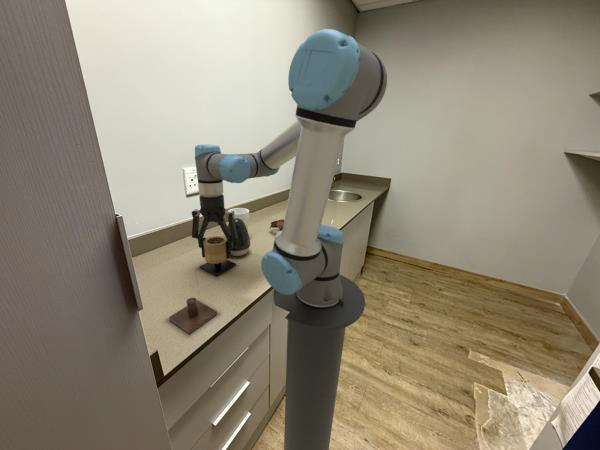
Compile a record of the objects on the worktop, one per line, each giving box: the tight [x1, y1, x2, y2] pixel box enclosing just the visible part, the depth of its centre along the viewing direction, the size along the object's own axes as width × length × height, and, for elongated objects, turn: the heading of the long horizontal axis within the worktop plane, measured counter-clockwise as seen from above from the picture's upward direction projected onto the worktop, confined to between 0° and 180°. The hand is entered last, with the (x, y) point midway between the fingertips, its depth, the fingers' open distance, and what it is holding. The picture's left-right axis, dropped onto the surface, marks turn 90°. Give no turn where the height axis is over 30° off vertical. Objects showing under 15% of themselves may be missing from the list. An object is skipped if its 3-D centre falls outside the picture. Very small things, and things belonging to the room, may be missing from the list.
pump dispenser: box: [224, 218, 251, 257], centre depth 96 cm, size 10×10×15 cm
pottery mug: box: [269, 218, 285, 235], centre depth 120 cm, size 12×10×8 cm
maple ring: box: [203, 235, 229, 264], centre depth 86 cm, size 8×8×7 cm
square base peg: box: [198, 241, 237, 277], centre depth 87 cm, size 9×9×10 cm
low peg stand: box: [168, 297, 218, 335], centre depth 63 cm, size 8×8×6 cm
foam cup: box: [227, 207, 250, 230], centre depth 112 cm, size 10×9×13 cm
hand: (217, 256), depth 87 cm, fingers closed on maple ring, 8 cm apart
